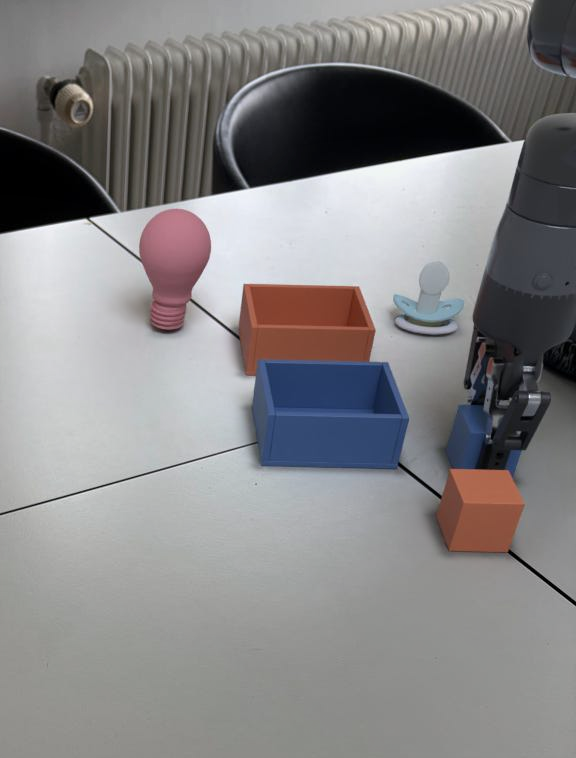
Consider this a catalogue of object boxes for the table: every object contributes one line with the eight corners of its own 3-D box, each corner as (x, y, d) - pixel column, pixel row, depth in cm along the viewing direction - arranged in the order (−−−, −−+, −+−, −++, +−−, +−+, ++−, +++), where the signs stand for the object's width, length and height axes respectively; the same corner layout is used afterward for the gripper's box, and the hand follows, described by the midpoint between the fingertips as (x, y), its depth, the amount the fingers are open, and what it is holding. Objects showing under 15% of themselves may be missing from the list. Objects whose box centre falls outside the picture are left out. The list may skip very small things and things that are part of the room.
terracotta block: (492, 517, 84) (508, 469, 81) (508, 552, 81) (525, 504, 78) (436, 516, 84) (449, 468, 81) (448, 551, 81) (463, 502, 78)
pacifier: (462, 341, 107) (457, 314, 112) (478, 284, 103) (472, 258, 107) (390, 335, 108) (387, 309, 112) (403, 278, 104) (400, 252, 108)
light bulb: (216, 324, 109) (227, 208, 101) (181, 349, 105) (190, 231, 97) (158, 306, 112) (165, 192, 104) (122, 330, 108) (126, 213, 100)
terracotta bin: (350, 332, 108) (359, 286, 105) (366, 377, 101) (376, 329, 98) (238, 329, 108) (243, 283, 105) (245, 375, 101) (251, 327, 98)
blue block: (497, 451, 92) (512, 405, 89) (511, 481, 88) (527, 434, 85) (445, 450, 92) (458, 404, 89) (457, 480, 88) (471, 432, 85)
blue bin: (377, 411, 97) (388, 361, 93) (397, 469, 89) (409, 418, 86) (251, 408, 97) (257, 358, 93) (261, 465, 90) (268, 414, 86)
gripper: (620, 313, 73) (546, 512, 85) (559, 234, 84) (500, 420, 95) (513, 311, 73) (453, 510, 85) (465, 232, 84) (418, 418, 95)
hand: (478, 462), depth 90 cm, fingers closed on blue block, 4 cm apart
